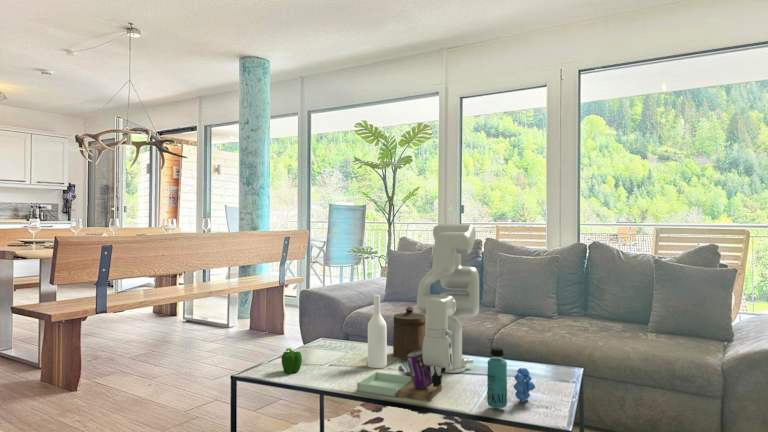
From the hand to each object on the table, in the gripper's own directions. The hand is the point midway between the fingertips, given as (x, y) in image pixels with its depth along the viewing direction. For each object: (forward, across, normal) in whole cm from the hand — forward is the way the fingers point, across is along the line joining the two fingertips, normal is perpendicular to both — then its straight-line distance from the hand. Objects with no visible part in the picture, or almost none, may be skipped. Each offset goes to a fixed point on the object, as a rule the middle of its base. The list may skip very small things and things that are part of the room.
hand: (436, 385), depth 182 cm
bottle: (+3, +36, -26) cm, 44 cm away
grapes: (+4, -29, -7) cm, 30 cm away
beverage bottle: (+4, -22, +3) cm, 22 cm away
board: (+4, +7, -1) cm, 8 cm away
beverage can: (+1, +5, -1) cm, 5 cm away
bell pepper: (+4, +64, -4) cm, 64 cm away
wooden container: (+3, +29, -47) cm, 55 cm away
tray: (+4, +21, -2) cm, 21 cm away
